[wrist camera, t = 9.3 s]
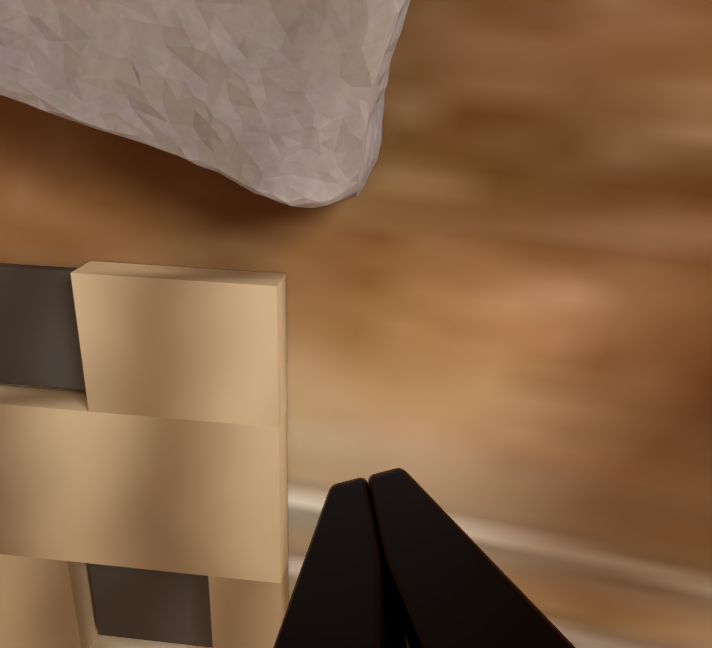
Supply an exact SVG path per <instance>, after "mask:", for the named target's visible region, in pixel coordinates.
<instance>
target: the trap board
mask: <svg viewBox="0 0 712 648" xmlns="http://www.w3.org/2000/svg"><path fill="white" fill-rule="evenodd" d="M0 383H6V384H19V385H31V386H44V387H56V388H68V389H81V390H86V392H78V391H66V390H53V389H41V388H29V387H16V386H4V385H0V648H89V647H90V645H91V643H92V642H93V640H94V638H95V637H96V635H97V633H98V634H99V635H108V636H117V637H126V638H134V639H143V640H152V641H161V642H169V643H178V644H187V645H195V646H204V647H213V648H273V646H274V644H275V641H276V638H277V635H278V632H279V629H280V627H281V624H282V621H283V618H284V615H285V613H286V610H287V607H288V489H287V366H286V273H271V272H255V271H239V270H223V269H207V268H191V267H175V266H159V265H143V264H127V263H111V262H95V261H90V262H88V263H86V264H85V265H83V266H81V267H80V268H66V267H50V266H35V265H19V264H3V263H0ZM88 566H89V569H88ZM89 573H90V575H89ZM90 580H91V582H90ZM91 586H92V589H91ZM92 593H93V596H92ZM93 600H94V603H93ZM94 607H95V610H94ZM95 614H96V616H95ZM96 621H97V623H96ZM97 627H98V630H97Z"/></svg>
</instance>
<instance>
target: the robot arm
mask: <svg viewBox="0 0 712 648" xmlns="http://www.w3.org/2000/svg"><path fill="white" fill-rule="evenodd" d="M368 484H369V485H368ZM408 646H409V647H408ZM273 648H575V647H574V646H573V644H572V643H571V642H570V641H569V640H568V639H567V638H566V637H565V636H564V635H563V634H562V633H561V632H560V631H559V630H558V629H557V628H556V627H555V626H554V625H553V624H552V623H551V622H550V621H549V619H548V618H547V617H546V616H545V615H544V614H543V613H542V612H541V611H540V610H539V609H538V608H537V607H536V606H535V605H534V604H533V603H532V602H531V601H530V600H529V599H528V598H527V597H526V596H525V595H524V593H523V592H522V591H521V590H520V589H519V588H518V587H517V586H516V585H515V584H514V583H513V582H512V581H511V580H510V579H509V578H508V577H507V576H506V575H505V574H504V573H503V572H502V571H501V570H500V569H499V567H498V566H497V565H496V564H495V563H494V562H493V561H492V560H491V559H490V558H489V557H488V556H487V555H486V554H485V553H484V552H483V551H482V550H481V549H480V548H479V547H478V546H477V545H476V544H475V542H474V541H473V540H472V539H471V538H470V537H469V536H468V535H467V534H466V533H465V532H464V531H463V530H462V529H461V528H460V527H459V526H458V525H457V524H456V523H455V522H454V521H453V520H452V519H451V518H450V516H449V515H448V514H447V513H446V512H445V511H444V510H443V509H442V508H441V507H440V506H439V505H438V504H437V503H436V502H435V501H434V500H433V499H432V498H431V497H430V496H429V495H428V494H427V493H426V491H425V490H424V489H423V488H422V487H421V486H420V485H419V484H418V483H417V482H416V481H415V480H414V479H413V478H412V477H411V476H410V475H409V474H408V473H407V472H406V471H405V470H403V469H401V468H396V469H392V470H388V471H384V472H380V473H376V474H373V475H371V476H370V477H369V479H368V482H367V480H366V479H364V478H357V479H353V480H349V481H345V482H341V483H337V484H334V485H333V486H332V487H331V488H330V490H329V492H328V495H327V497H326V500H325V503H324V506H323V509H322V511H321V514H320V517H319V520H318V523H317V525H316V528H315V531H314V534H313V537H312V540H311V542H310V545H309V548H308V551H307V554H306V556H305V559H304V562H303V565H302V568H301V570H300V573H299V576H298V579H297V582H296V585H295V587H294V590H293V593H292V596H291V599H290V601H289V604H288V607H287V610H286V613H285V615H284V618H283V621H282V624H281V627H280V629H279V632H278V635H277V638H276V641H275V644H274V646H273Z"/></svg>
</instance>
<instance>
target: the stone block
mask: <svg viewBox="0 0 712 648" xmlns="http://www.w3.org/2000/svg"><path fill="white" fill-rule="evenodd" d="M411 1H412V0H0V95H2V96H5V97H9V98H11V99H14V100H17V101H20V102H23V103H26V104H28V105H31V106H33V107H35V108H38V109H40V110H43V111H45V112H48V113H51V114H53V115H56V116H59V117H62V118H65V119H68V120H71V121H74V122H77V123H80V124H83V125H86V126H89V127H92V128H95V129H98V130H102V131H105V132H108V133H112V134H115V135H118V136H122V137H125V138H128V139H132V140H135V141H138V142H141V143H144V144H147V145H150V146H152V147H155V148H158V149H160V150H163V151H166V152H168V153H171V154H174V155H177V156H179V157H182V158H184V159H186V160H188V161H190V162H192V163H194V164H196V165H198V166H201V167H204V168H207V169H209V170H212V171H215V172H218V173H220V174H222V175H223V176H225V177H227V178H229V179H230V180H232V181H234V182H236V183H237V184H239V185H241V186H243V187H244V188H246V189H248V190H250V191H251V192H253V193H255V194H258V195H262V196H265V197H268V198H270V199H272V200H275V201H277V202H280V203H283V204H286V205H289V206H295V207H304V208H318V207H322V206H327V205H329V204H332V203H334V202H337V201H343V200H346V199H349V198H353V197H356V196H358V195H359V194H360V192H361V190H362V189H363V187H364V185H365V183H366V181H367V179H368V177H369V174H370V172H371V170H372V168H373V166H374V165H375V163H376V162H377V160H378V155H379V150H380V145H381V142H382V118H383V113H384V93H385V90H386V87H387V83H388V76H389V69H390V62H391V58H392V55H393V53H394V50H395V47H396V44H397V41H398V39H399V37H400V34H401V30H402V27H403V23H404V20H405V16H406V13H407V9H408V6H409V3H410V2H411Z"/></svg>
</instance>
